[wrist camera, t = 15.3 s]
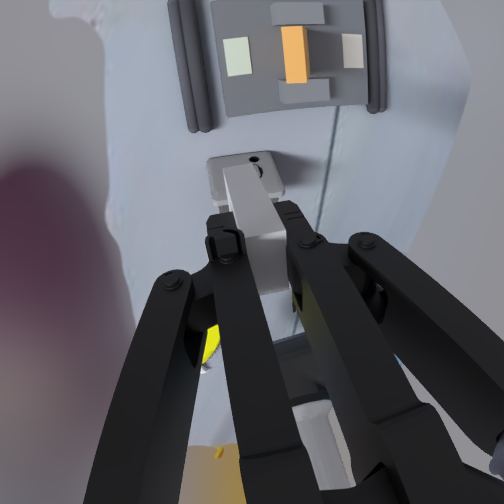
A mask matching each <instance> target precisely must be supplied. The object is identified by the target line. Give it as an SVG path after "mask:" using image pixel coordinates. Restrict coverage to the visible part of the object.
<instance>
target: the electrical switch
mask: <svg viewBox="0 0 504 504" xmlns="http://www.w3.org/2000/svg"><path fill="white" fill-rule="evenodd" d="M206 162H207V171H208V177H209V183H210V189H211V195H212V197H211V198H212V203H213V204H214V205H215V206H219V211H220V213H226V212H230V211H229V205H228V199H227V193H226V186H225V180H224V174H223V168H226V167H232V166H237V165H243V164H249V163H252V165H253V167H254V169H255V170H256V172H257V174H258V176H259V178H260V180H261V182H262V184H263V186H264V188H265V190H266V192H267V194H268V196H269V198H270V200H271V201H272V203H276V202H278V199H279V197H283V195H284V194H285V188H284V185H283V183H282V180H281V178H280V175H279V173H278V170H277V168H276V165H275V163H274V161H273V158H272V156H271V153H270V152H267V151H262V152H254V153H246V154H238V155H231V156H224V157H217V158H210V159H208V160H207V161H206ZM225 211H226V212H225Z"/></svg>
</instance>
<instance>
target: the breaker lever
mask: <svg viewBox="0 0 504 504" xmlns="http://www.w3.org/2000/svg"><path fill="white" fill-rule="evenodd" d="M281 31H282V41H283V50H284V61H285V71H286V82H287V83H307V81H308V79H309V76H310V62H309V50H308V39H307V29H305V28H304V27H303V26H288V27H281Z"/></svg>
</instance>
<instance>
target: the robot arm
mask: <svg viewBox="0 0 504 504" xmlns="http://www.w3.org/2000/svg"><path fill="white" fill-rule="evenodd" d="M223 174H224V180H225V186H226V193H227V199H228V205H229V211H230V212H226V213H220V214H215V215H210V217H209V218H208V220H207V222H206V225H207V234H208V236H207V237H206V239H205V245H206V249H207V253H208V257H209V263H208V264H207V265H206V266H205V267H204V268H203V269H202V270H200V271H198V272H196V273H194V274H192V275H190V274H189V273H188V272H186V271H184V270H178V269H177V270H171V271H168V272H166V273H163V274H162V275H161V276H159V277H158V278H157V280H156V281H155V283H154V285H153V287H152V290H151V292H150V295H149V298H148V300H147V303H146V305H145V308H144V310H143V313H142V316H141V318H140V321H139V323H138V326H137V329H136V332H135V334H134V337H133V340H132V342H131V345H130V348H129V351H128V354H127V357H126V359H125V362H124V365H123V368H122V371H121V374H120V377H119V380H118V383H117V386H116V389H115V392H114V395H113V398H112V401H111V405H110V407H109V411H108V414H107V417H106V420H105V424H104V427H103V431H102V434H101V437H100V440H99V444H98V447H97V451H96V455H95V458H94V462H93V466H92V469H91V473H90V477H89V481H88V485H87V489H86V494H85V498H84V502H83V504H178V501H179V494H180V489H181V482H182V476H183V469H184V464H185V457H186V451H187V445H188V439H189V434H190V428H191V422H192V416H193V410H194V405H195V399H196V394H197V388H198V382H199V377H200V372H201V366H202V361H203V355H204V350H205V345H206V340H207V334H208V329H209V328H211V327H213V326H215V325H218V328H219V335H220V342H221V348H222V355H223V361H224V368H225V374H226V380H227V386H228V392H229V398H230V404H231V410H232V416H233V421H234V427H235V432H236V438H237V443H238V448H239V455H240V459H239V464H240V472H241V477H242V483H243V488H244V493H245V498H246V503H247V504H504V481H502V480H500V479H498V478H495V477H493V476H491V475H489V474H487V473H484V472H482V471H480V470H478V469H476V468H474V467H472V466H469V465H467V464H465V463H463V462H462V461H461V459H460V457H459V454H458V452H457V450H456V448H455V446H454V444H453V442H452V440H451V437H450V436H449V433H448V431H447V429H446V427H445V425H444V423H443V421H442V419H441V417H440V415H439V414H438V412H437V411H436V409H435V408H434V407H433V406H432V405H430V403H423V402H421V401H420V400H419V399H418V398H417V396H416V394H415V393H414V391H413V389H412V387H411V385H410V383H409V381H408V379H407V377H406V375H405V373H404V371H403V370H402V368H401V365H402V363H403V364H404V365H405V366H406V367H407V368H408V369H409V371H410V372H411V373H412V374H413V375H414V376H415V377H416V378H417V379H418V380H419V382H420V383H421V384H422V385H423V386H424V387H425V388H426V390H427V391H428V392H429V393H430V394H431V395H432V396H433V397H434V399H435V400H436V401H437V402H438V403H439V404H440V405H441V407H442V408H443V409H444V410H445V411H446V412H447V414H448V415H449V416H450V417H451V418H452V419H453V421H454V422H455V423H456V424H457V425H458V426H459V428H460V429H461V430H462V431H463V432H464V433H465V435H466V436H467V437H468V438H469V439H470V440H471V441H472V442H473V443H474V444H475V445H477V446H478V447H479V448H480V449H481V450H483V451H484V452H485V453H487V454H489V455H490V456H492V457H493V459H492V460H491V461H490V464H489V470H490V472H491V473H492V474H494V475H500V476H501V477H502V478H503V479H504V342H503V340H502V339H500V337H499V336H497V335H496V334H495V333H494V332H493V331H492V330H491V329H490V328H489V327H488V326H487V325H486V324H485V323H483V322H482V321H481V320H480V319H479V318H478V317H477V316H476V315H475V314H474V313H472V312H471V311H470V310H469V309H468V308H467V307H466V306H464V305H463V304H462V303H461V302H460V301H459V300H458V299H457V298H455V297H454V296H453V295H452V294H450V293H449V292H448V291H447V290H446V289H445V288H444V287H442V286H441V285H440V284H439V283H438V282H436V281H435V280H434V279H432V277H430V276H429V275H428V274H427V273H426V272H424V271H423V270H422V269H421V268H419V267H418V266H417V265H416V264H414V263H413V262H412V261H411V260H409V259H408V258H407V257H406V256H404V255H403V254H402V253H401V252H399V251H398V250H397V249H395V248H394V247H393V246H391V245H390V244H389V243H388V242H386V241H385V240H384V239H382V238H381V237H380V236H378V235H376V234H373V233H369V232H360V233H355V234H354V235H352V236H351V237H350V239H349V242H348V244H336V243H329V242H328V241H327V240H326V238H325V237H324V236H323V235H321V234H319V233H316V232H314V231H313V229H312V228H311V226H310V225H309V223H308V221H307V220H306V218H305V217H304V215H303V213H302V212H301V210H300V209H299V207H298V205H297V204H295V203H293V202H291V201H290V200H287V201H282V202H276V203H272V201H271V200H270V198H269V196H268V194H267V192H266V190H265V188H264V186H263V184H262V182H261V180H260V178H259V176H258V174H257V172H256V170H255V169H254V167H253V165H252V163H249V164H243V165H237V166H232V167H226V168H223ZM289 282H290V284H291V287H292V305H293V312H296V309H297V311H298V314H299V317H300V319H301V322H302V325H303V327H304V330H305V332H303V333H300V334H296V335H293V336H290V337H286V338H283V339H279V340H276V341H272V338H271V335H270V331H269V328H268V324H267V321H266V317H265V314H264V310H263V307H262V304H261V300H260V297H259V296H260V295H265V294H269V293H274V292H279V291H284V290H288V289H289ZM378 284H379V285H380V286H381V287H382V288H383V289H382V288H380V287H379V286H378ZM332 406H333V408H334V410H335V413H336V416H337V418H338V422H339V424H340V427H341V430H342V433H343V435H344V438H345V441H346V444H347V447H348V449H349V453H350V457H351V468H352V473H353V476H354V479H355V482H356V486H355V487H352V488H351V486H350V483H349V480H348V477H347V474H346V471H345V467H344V465H343V461H342V458H341V455H340V452H339V449H338V446H337V443H336V440H335V436H334V433H333V430H332V427H331V424H330V421H329V418H328V414H329V412H330V410H331V408H332Z"/></svg>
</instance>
